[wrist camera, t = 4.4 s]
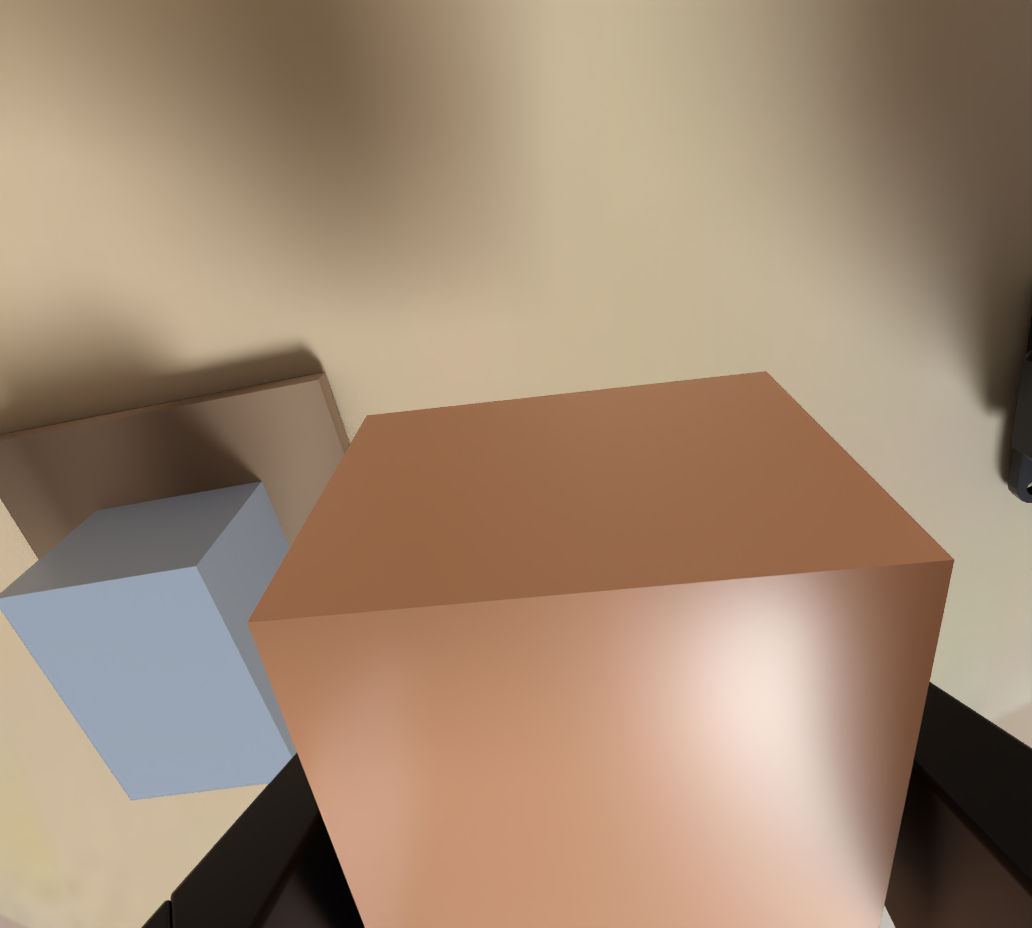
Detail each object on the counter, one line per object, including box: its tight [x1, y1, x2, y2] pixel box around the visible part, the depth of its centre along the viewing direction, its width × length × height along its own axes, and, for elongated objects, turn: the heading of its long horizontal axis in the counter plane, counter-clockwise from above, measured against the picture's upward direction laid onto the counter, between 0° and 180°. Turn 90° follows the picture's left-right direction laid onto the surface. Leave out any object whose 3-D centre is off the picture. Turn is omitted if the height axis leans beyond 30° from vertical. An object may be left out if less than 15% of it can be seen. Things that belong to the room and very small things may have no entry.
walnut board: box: [0, 372, 350, 559], centre depth 20 cm, size 10×12×1 cm
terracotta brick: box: [247, 371, 954, 928], centre depth 8 cm, size 5×7×4 cm
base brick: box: [0, 481, 297, 800], centre depth 18 cm, size 5×7×4 cm
